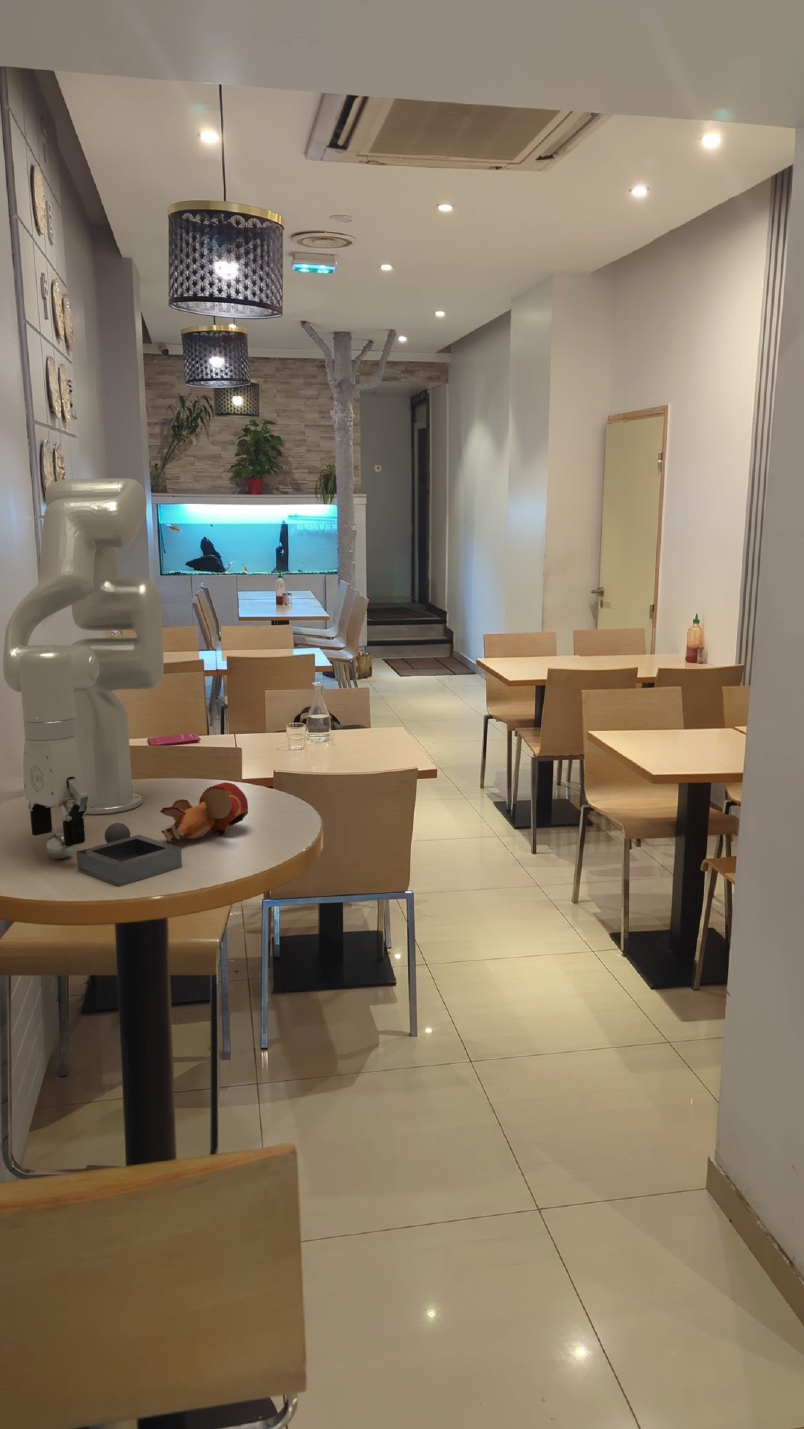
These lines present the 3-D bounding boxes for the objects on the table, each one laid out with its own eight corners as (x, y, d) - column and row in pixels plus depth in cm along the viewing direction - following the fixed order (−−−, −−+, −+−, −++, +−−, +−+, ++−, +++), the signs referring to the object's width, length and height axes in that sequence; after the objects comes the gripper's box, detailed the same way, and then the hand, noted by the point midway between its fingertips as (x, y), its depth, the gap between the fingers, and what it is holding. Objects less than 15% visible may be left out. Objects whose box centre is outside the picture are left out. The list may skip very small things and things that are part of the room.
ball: (100, 847, 158) (98, 823, 158) (122, 841, 161) (120, 818, 161) (114, 852, 156) (112, 828, 155) (135, 846, 159) (134, 822, 158)
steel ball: (42, 858, 153) (40, 834, 152) (66, 852, 156) (64, 828, 155) (55, 864, 150) (53, 839, 150) (79, 857, 153) (77, 833, 153)
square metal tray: (77, 870, 147) (76, 851, 147) (140, 852, 155) (139, 834, 155) (118, 886, 140) (117, 866, 139) (182, 866, 148) (181, 847, 148)
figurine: (211, 848, 151) (282, 808, 161) (186, 798, 151) (259, 760, 161) (156, 866, 166) (224, 827, 176) (133, 819, 165) (203, 784, 175)
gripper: (-1, 728, 152) (8, 835, 155) (57, 739, 141) (65, 854, 143) (44, 722, 158) (52, 825, 160) (103, 732, 146) (110, 843, 149)
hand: (58, 838), depth 152 cm, fingers open, 9 cm apart
